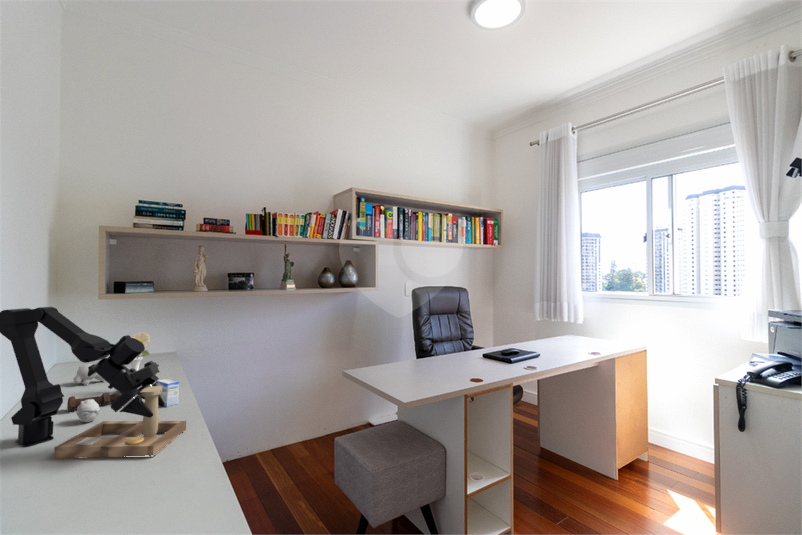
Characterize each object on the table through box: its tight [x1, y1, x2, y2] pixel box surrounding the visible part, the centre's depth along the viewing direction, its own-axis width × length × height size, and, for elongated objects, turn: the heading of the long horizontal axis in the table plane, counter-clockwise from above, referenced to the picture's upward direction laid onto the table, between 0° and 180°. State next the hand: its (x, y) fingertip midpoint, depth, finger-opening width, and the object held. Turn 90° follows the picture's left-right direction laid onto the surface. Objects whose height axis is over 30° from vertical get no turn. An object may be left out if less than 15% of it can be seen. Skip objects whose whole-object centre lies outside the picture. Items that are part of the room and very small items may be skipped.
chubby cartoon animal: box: [73, 363, 106, 386], centre depth 167 cm, size 7×12×8 cm, turn 130°
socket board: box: [53, 420, 187, 460], centre depth 109 cm, size 25×18×3 cm
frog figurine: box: [75, 399, 101, 423], centre depth 124 cm, size 6×7×7 cm
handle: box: [141, 386, 162, 437], centre depth 112 cm, size 5×6×15 cm
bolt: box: [66, 392, 121, 413], centre depth 138 cm, size 6×5×15 cm
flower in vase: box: [130, 331, 151, 371], centre depth 157 cm, size 13×11×25 cm
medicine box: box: [155, 378, 180, 408], centre depth 143 cm, size 8×4×9 cm, turn 62°
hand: (158, 410), depth 112 cm, fingers open, 9 cm apart
